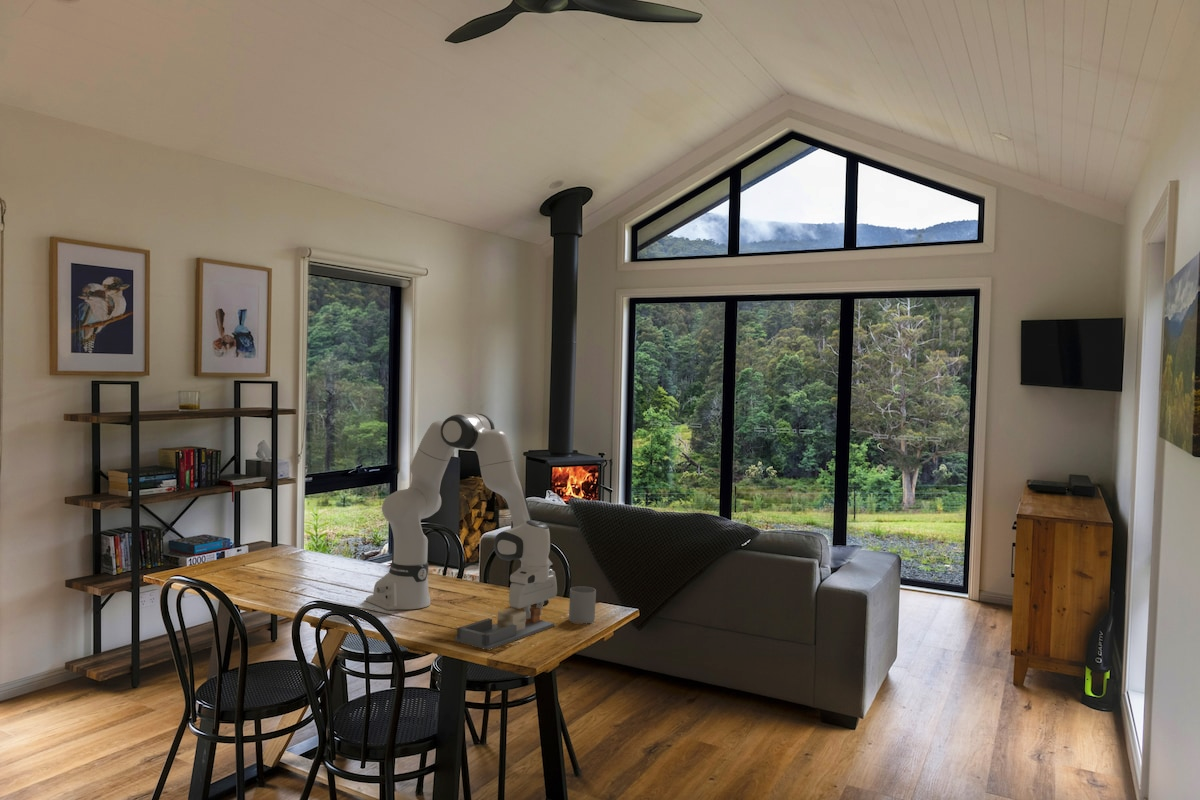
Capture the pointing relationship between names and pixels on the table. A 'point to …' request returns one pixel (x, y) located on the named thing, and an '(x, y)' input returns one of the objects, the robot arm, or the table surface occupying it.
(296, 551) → the table surface
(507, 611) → the block
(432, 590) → the table surface
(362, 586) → the table surface
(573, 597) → the cup
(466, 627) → the grey slider tray
